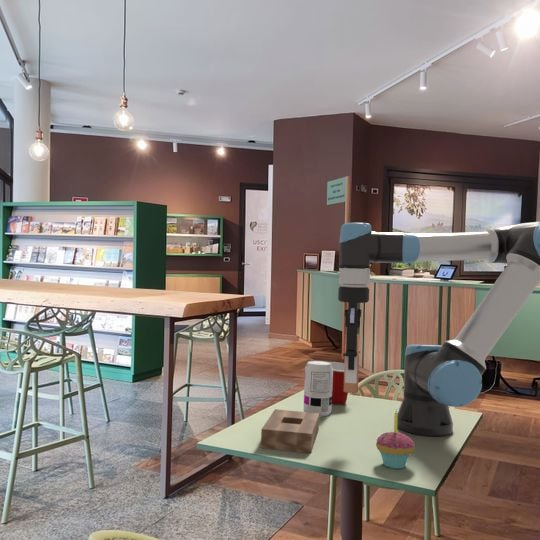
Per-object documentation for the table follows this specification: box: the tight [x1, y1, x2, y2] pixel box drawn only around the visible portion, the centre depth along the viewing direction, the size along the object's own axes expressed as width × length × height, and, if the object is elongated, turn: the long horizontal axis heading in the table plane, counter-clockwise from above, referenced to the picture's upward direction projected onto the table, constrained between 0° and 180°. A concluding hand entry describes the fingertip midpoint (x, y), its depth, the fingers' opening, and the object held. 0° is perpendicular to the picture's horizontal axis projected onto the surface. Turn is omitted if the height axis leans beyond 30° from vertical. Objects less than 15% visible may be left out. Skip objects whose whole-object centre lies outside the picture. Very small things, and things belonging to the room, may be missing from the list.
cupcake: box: [375, 412, 416, 470], centre depth 121 cm, size 9×8×12 cm
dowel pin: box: [343, 333, 361, 394], centre depth 133 cm, size 4×4×14 cm
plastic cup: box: [329, 361, 349, 405], centre depth 174 cm, size 11×11×12 cm
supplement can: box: [303, 360, 333, 418], centre depth 160 cm, size 8×8×15 cm
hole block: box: [260, 408, 320, 454], centre depth 136 cm, size 12×18×4 cm, turn 169°
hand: (351, 380), depth 133 cm, fingers closed on dowel pin, 3 cm apart
